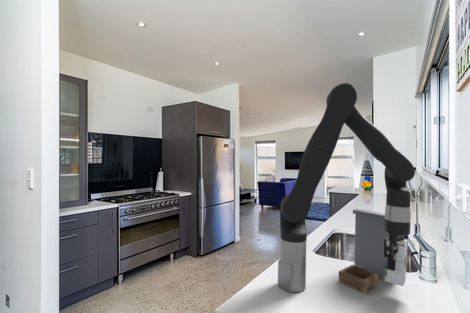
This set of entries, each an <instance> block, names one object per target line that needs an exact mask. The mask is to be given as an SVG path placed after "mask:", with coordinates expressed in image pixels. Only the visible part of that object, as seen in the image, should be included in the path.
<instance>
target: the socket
mask: <svg viewBox="0 0 470 313" xmlns="http://www.w3.org/2000/svg"><path fill="white" fill-rule="evenodd" d="M379 278H380V277H379V274H377V273H374V272H371V271H369V270H366V269H363V268H360V267H358V266H355V265H354V264H351V265H349V266H346V267H345V268H342V269H340V270H338V282H339V283H341V284H343V285H345V286H348V287H350V288H352V289H355V290H357V291H360V292H362V293H364V294H367V292H369V291H371V290H372V289H374V288H375V287H378V286H379Z"/></svg>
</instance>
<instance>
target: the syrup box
mask: <svg viewBox="0 0 470 313" xmlns="http://www.w3.org/2000/svg"><path fill="white" fill-rule="evenodd" d="M388 238H389V237H388ZM388 238H387V240H388ZM408 244H409V239H408V240H406V239H405V240H404V241H403V240H402V242H400V241H397V246H398V245H399V253H398V254H397V255H396V259H395V260H396V262H395V270H394V271H392V270H389V269H388V268H387V260H388V258H387V257H385V268H384V278H383V281H384V282H387V283H391V284H393V285H397V286H400V287H403V286H404V285H405V283H406V279H407V278H406V277H407V260H408V248H407V245H408ZM397 246H396V247H393V250H396V248H397ZM393 254H394V252H393Z"/></svg>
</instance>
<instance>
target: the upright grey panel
mask: <svg viewBox="0 0 470 313" xmlns="http://www.w3.org/2000/svg"><path fill="white" fill-rule="evenodd" d="M352 214H355V217H354V218H355V219H354V220H355V224H354V225H355V226H354V227H355V228H354V230H355V231H354V264H353V265H355V266H358V267H360V268H363V269H366V270H369V271H371V272H374V273H377V274H379V278H382V279H384V268H385V257H384V240H385V239H386V240H387V238H388V237H389V233H388V232H386V231H385V230H384V223H385V213H383V212H377V211H373V210H372V211H371V210H365V209H359V208H356V209H352Z"/></svg>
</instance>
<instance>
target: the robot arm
mask: <svg viewBox="0 0 470 313" xmlns="http://www.w3.org/2000/svg"><path fill="white" fill-rule="evenodd" d="M357 101H358V91H357V88H355V86H354V85H352V84H351V83H347V82H343V83H340V84H337V85H336V86H334V87H333V88H332V89H331V90H330V92H329V94H327V97H326V101H325V102H326V108H325V111H324V114H323V116H322V118H321V120H320V122H319V124H318V125H317V127H316V128H315V130H314V131H313V133H312V134H311V137H310V139H309V140H308V142H307V144H306V147H305V150H304V152H303V154H302V157H301V160H300V164H299V168H298V174H297V178H296V180H295V183H294V185H293V187H292V189H291V191H290V192H289V193H288V194H286V195H285V196H284V197H282V199H281V202H280V208H279V210H280V216H279V218H280V221H279V226H280V227H279V228H280V245H279V246H280V248H279V249H280V251H279V253H280V254H279V257H280V258H279V259H278V262H277V263H278V264H277V286H278V287H279V288H281V289H283V290H284V291H286V292H288V293H290V294H292V293H299V292H303V291H305V290H306V286H307V284H306V282H307V281H306V280H307V279H306V278H307V241H308V240H307V237H308V236H307V228H306V218H307V217H308V214H309V212H310V209H311V206H312V202H313V200H314V195H315V192H316V190H317V188H318V186H319V184H320V181H322V178H323V176H324V174H325V171H326V170H327V167H328V165H329V163H330V161H331V158H332V156H333V154H334V152H335V149H336V146H337V144H338V140H339V138H340V135H341V132H342V129H343V127H344V124H345V125H346V126H347V128H349V129H350V130H351V131H352V132H353V133H354V135H355V136H356V137H357V138H358V139H359V141H360V142H361V143H362V145H364V147H365V148H366V149H367V150H368V152H369V153H370V154H371V155H372V156H373V158H374V159H376V160H377V161H378V162H379V163H381V164H382V165H383V166H384V167H385V168H384V182H385V189H386V195H385V196H386V199H385V208H384V214H385V223H384V230H385V231H386V232H388V233H389V238H388V240H386V239H385V240H384V257H387V258H388V260H387V268H388V269H389V270H392V271H394V270H395V262H396V260H395V259H396V255H397V254H398V253H399V245H398V246H397V241H400V242H402V240H403V241H404V240H405V239H406V240H408V241H409V235H410V234H411V219H412V218H411V217H412V216H411V215H412V213H411V211H412V210H411V198H412V197H411V192H410V190H409V189H408V186H407V182H409V181H411V180H413V178H414V177H415V175H416V170H415V167H414V165H413V163H412V162H411V161H410V160H409V158H407V157H406V156H405V155H404V154H403V153H402V152H400V150H399V149H397V148H396V147H395V146H394V144H393V143H392V142H391V141H390V140H389V139H388V138H387V137H386V135H385V134H384V133H383V132H382V131H381V130H380V129H379V127H377V126H375V125H374V124H373V123H372V122H371V121H369V120H368V119H366V118H365V116H363V115H362V114H361V112H360V111H359V110H358V108H357V107H356V103H357ZM396 246H397V248H396V250H393V247H396ZM408 247H409V246H408V245H407V249H408ZM393 252H394V254H393Z"/></svg>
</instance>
